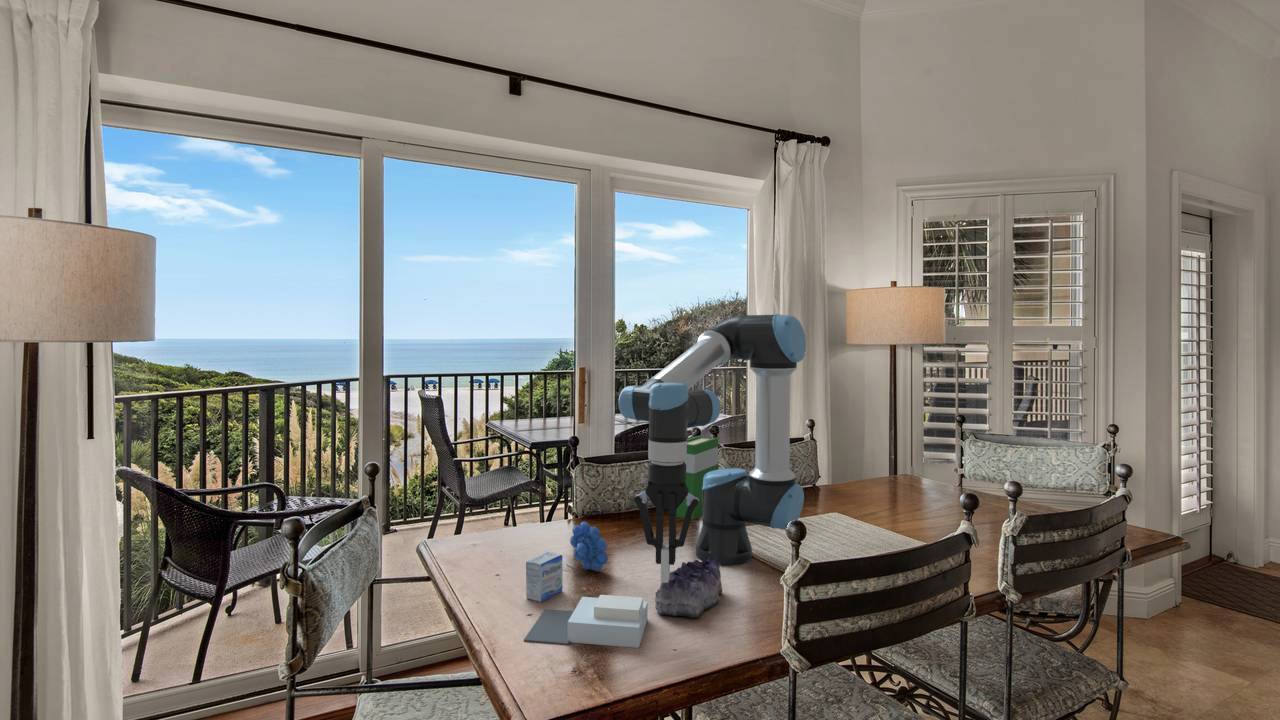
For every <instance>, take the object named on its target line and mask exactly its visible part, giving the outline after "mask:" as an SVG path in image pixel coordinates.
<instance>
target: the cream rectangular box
mask: <svg viewBox="0 0 1280 720" xmlns="http://www.w3.org/2000/svg"><path fill="white" fill-rule="evenodd" d="M597 598H598V600H597V602H596V604H595V606H594V617H602V618H615V619H628V620H639V618H640V615H641V612H642V609H643V601H644V597H639V596H627V595H626V596H624V595H611V594H610V595H608V594H600V595H599V596H598V597H597Z"/></svg>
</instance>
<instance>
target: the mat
mask: <svg viewBox="0 0 1280 720" xmlns="http://www.w3.org/2000/svg"><path fill="white" fill-rule="evenodd" d="M573 612H574V610H563V609H550V608H544V609H543V611H542V612H541V614H540V615H539V617H538V619H536V621H535V623H534V624H533V626H532V627H531V628H530V630H529V631H528V633H527V634H526V636H525V637H524V639H523V642H527V643H528V642H529V643H541V644H551V645H552V644H553V645H554V644H555V645H567V646H569V645H570V643H571V642H570V641H568V620H569V619H570V617H571V615H572V614H573Z"/></svg>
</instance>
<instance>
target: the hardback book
mask: <svg viewBox="0 0 1280 720" xmlns="http://www.w3.org/2000/svg"><path fill="white" fill-rule="evenodd" d="M684 463H685V464H686V485H687V488H688V490H689V493H690V494H691V495H693V496H694V497H698V498H699V503H698V505H697V506H696V508H695V509H694V510H693V513H692V517H691V520H693V521H695V520H696V519H698V518H700V517H703V490H702V488H703V478H704V476H705V474H706V473H708V472H710V471H714V470H719V437H714V438H703V437H702V436H701V435H697V436H693V437H691V438H687V459H686V460H685V461H684ZM686 502H687V499H686V498H685V499H684V500H683V502H682V503H681V504H680V506H679V507H678V508H677V512H676V518H682V519H685V515H686V511H687V508H688V506H687V504H686Z"/></svg>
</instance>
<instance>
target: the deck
mask: <svg viewBox="0 0 1280 720" xmlns="http://www.w3.org/2000/svg"><path fill="white" fill-rule="evenodd" d="M598 598H599V597H591V596H581V598H580V600H579V601H578V603H577V605H576V607H575V609H574V610H573V611H574V612H573V614H572V615H571V617H570V619H569V620H568V641H570V643H573V644H584V645H585V644H587V645H598V646H610V647H612V646H613V647H623V648H634V649H639V648H640V645H641V642H642V639H643V635H644V633H645V628H646V626H647V622H648V608H649V607H648V605H649V604H648V600H647V601H646V600H643V609H642V612H641V615H640V618H639V620H628V619H615V618H602V617H594V606H595V604H596V602H597V600H598Z"/></svg>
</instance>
